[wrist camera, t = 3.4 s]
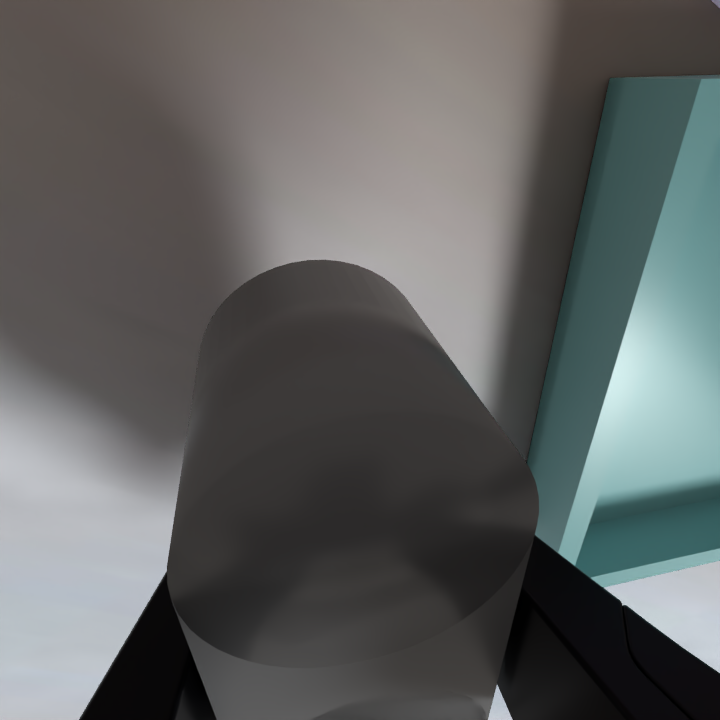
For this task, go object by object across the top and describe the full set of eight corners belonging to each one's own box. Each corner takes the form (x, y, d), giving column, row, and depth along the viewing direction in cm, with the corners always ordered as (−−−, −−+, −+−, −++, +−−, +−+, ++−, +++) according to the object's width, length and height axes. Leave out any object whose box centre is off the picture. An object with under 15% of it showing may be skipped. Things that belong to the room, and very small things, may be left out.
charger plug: (173, 271, 7) (113, 450, 4) (430, 248, 8) (573, 382, 4) (265, 661, 13) (274, 870, 9) (408, 628, 13) (464, 813, 10)
